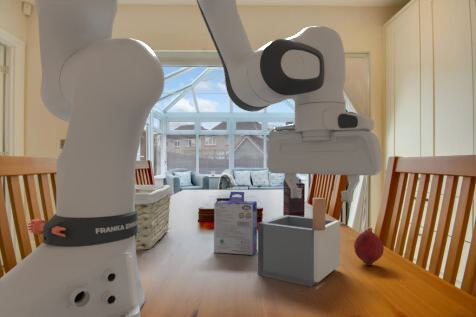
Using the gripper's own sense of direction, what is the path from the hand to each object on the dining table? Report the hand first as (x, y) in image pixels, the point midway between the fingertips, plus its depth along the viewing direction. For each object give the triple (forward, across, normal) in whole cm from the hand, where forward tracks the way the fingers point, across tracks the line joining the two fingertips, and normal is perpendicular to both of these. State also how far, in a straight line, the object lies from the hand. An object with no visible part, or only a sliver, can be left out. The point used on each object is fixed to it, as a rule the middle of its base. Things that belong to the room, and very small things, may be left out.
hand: (320, 199), depth 59 cm
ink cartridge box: (+16, -25, +9) cm, 31 cm away
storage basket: (+15, -55, +2) cm, 57 cm away
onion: (+16, +4, +17) cm, 23 cm away
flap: (+14, 0, +4) cm, 15 cm away
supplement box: (+16, -21, +33) cm, 42 cm away
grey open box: (+15, -6, +4) cm, 17 cm away
